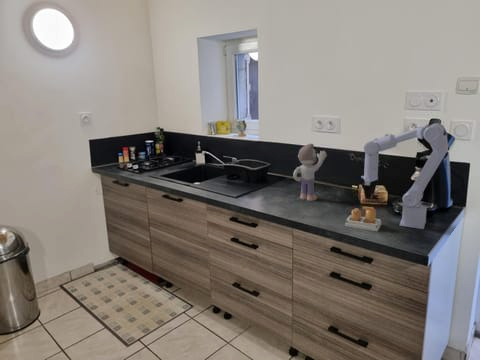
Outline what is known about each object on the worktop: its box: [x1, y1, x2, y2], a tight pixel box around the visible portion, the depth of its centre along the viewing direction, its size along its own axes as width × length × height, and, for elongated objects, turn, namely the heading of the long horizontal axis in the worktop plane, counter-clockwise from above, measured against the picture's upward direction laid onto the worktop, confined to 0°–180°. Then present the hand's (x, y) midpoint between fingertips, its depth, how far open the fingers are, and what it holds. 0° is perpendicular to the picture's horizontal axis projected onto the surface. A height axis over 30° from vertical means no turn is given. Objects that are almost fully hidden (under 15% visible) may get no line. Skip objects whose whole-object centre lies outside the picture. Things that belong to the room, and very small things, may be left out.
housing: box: [344, 207, 382, 232], centre depth 159 cm, size 14×8×7 cm, turn 60°
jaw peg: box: [361, 206, 377, 224], centre depth 157 cm, size 5×4×7 cm
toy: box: [292, 143, 328, 202], centre depth 193 cm, size 18×9×30 cm, turn 47°
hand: (369, 196), depth 166 cm, fingers open, 7 cm apart
